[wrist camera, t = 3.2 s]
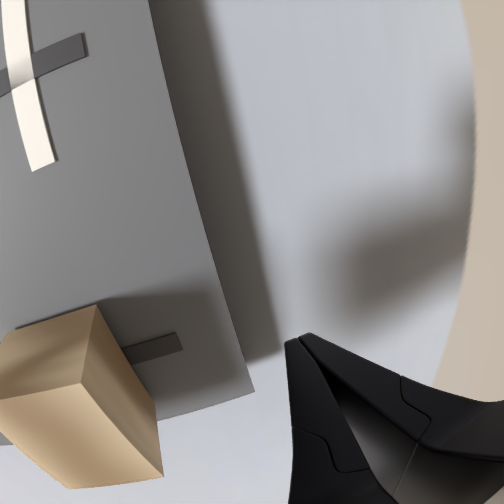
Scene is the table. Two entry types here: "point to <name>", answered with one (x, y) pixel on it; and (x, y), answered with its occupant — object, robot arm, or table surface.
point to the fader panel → (107, 199)
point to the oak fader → (77, 403)
